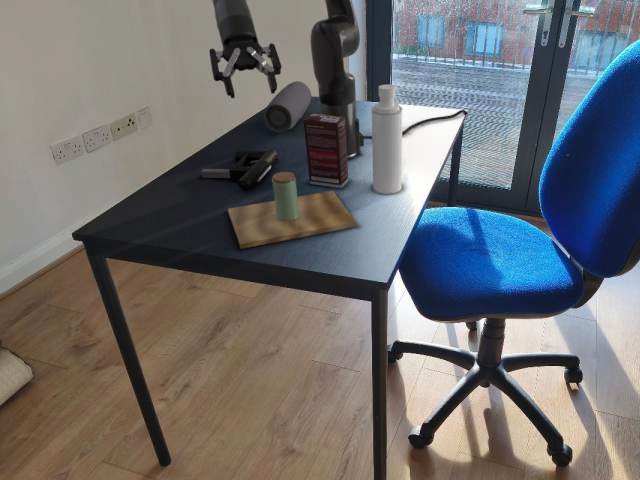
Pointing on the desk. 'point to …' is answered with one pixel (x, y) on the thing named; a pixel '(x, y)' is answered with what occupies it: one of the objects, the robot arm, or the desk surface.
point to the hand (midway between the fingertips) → (253, 94)
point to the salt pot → (285, 196)
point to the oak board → (314, 218)
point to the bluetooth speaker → (287, 107)
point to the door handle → (245, 168)
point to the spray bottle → (387, 142)
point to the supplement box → (326, 150)
